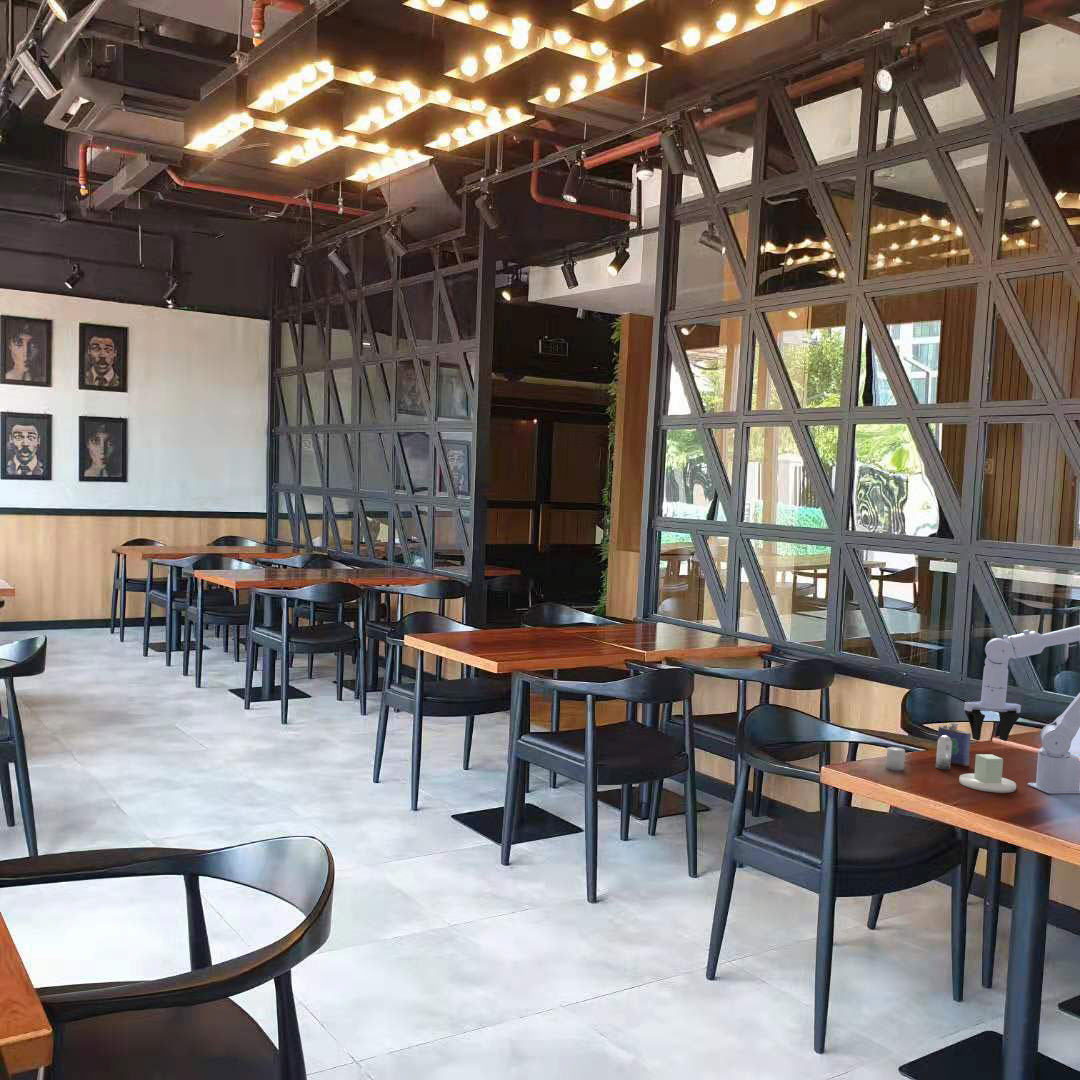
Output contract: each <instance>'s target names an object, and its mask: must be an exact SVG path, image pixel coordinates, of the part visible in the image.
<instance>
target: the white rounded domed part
mask: <svg viewBox="0 0 1080 1080" xmlns="http://www.w3.org/2000/svg"><path fill="white" fill-rule="evenodd" d="M905 756H906V750H905V749H904V748H900V747H895V746H894V747H892V746H890V747H887V748H886V760H885V761H886V763H885V764H886V765H885V768H886V769H888V770H890V771H896V772H897V771H898V772H899V771H900V772H902V771H904V769H905V761H906V760H905V758H906V757H905Z"/></svg>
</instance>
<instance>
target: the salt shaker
mask: <svg viewBox="0 0 1080 1080" xmlns="http://www.w3.org/2000/svg"><path fill="white" fill-rule="evenodd" d="M937 742H938V743H936V744H937V746H936V751H937V755H936V757H935V768H937V769H941V770H950V769H951V752H952V741H951V738H950V737H949V736H947V735H943V736H941V737H940V738H939V740H938V739H937Z"/></svg>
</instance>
